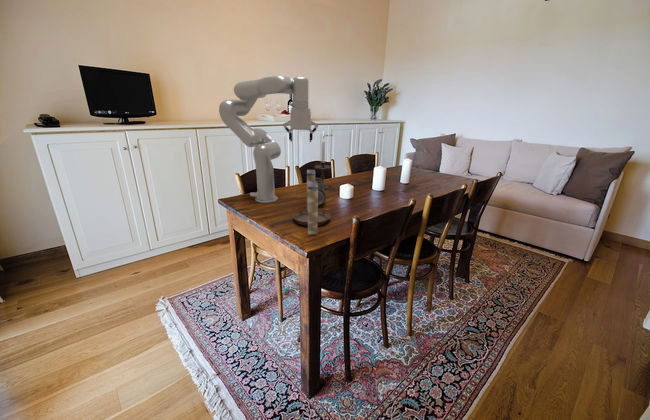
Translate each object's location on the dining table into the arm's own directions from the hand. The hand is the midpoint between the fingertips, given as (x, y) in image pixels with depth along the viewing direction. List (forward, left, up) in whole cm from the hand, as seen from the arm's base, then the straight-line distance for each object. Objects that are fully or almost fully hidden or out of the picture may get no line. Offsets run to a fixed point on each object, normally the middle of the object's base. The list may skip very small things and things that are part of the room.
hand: (300, 141), depth 141 cm
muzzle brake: (+9, +10, -35) cm, 37 cm away
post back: (+5, -9, -34) cm, 36 cm away
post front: (+5, -33, -34) cm, 48 cm away
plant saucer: (+5, -21, -35) cm, 41 cm away
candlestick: (+14, +35, -34) cm, 51 cm away
